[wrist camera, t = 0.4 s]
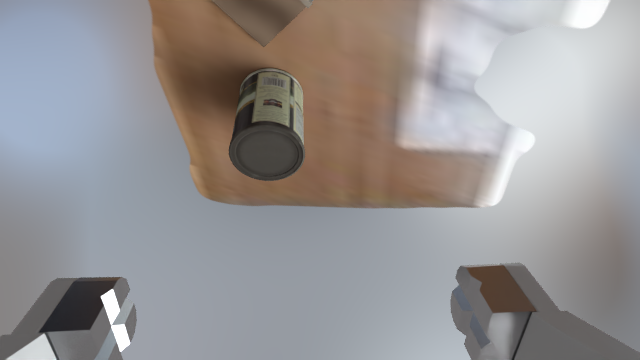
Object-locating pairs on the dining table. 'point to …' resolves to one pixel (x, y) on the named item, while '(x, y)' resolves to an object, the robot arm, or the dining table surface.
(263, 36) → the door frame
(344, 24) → the dining table surface
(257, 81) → the coffee can
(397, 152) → the dining table surface
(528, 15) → the dining table surface
